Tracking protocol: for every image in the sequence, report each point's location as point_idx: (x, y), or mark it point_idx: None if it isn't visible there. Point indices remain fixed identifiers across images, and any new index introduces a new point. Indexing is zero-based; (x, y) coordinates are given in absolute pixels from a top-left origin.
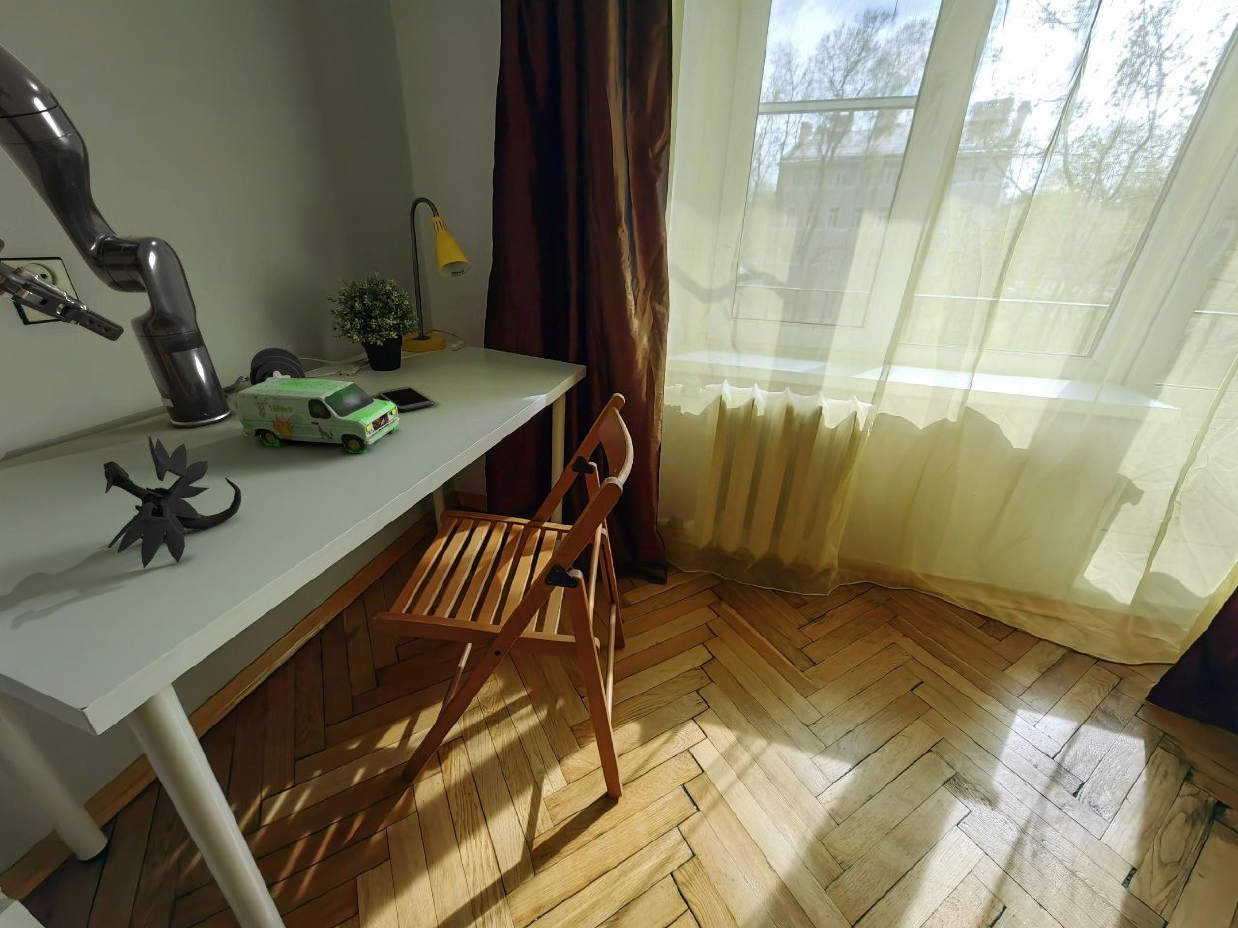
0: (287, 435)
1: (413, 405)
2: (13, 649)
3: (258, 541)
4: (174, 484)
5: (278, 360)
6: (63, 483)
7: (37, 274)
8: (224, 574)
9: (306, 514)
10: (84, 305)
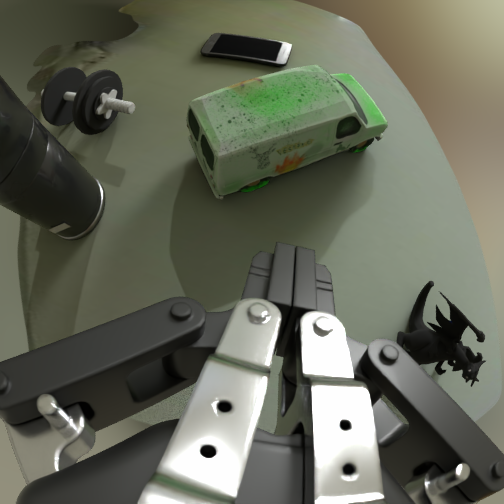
0: (290, 170)
1: (284, 55)
2: None
3: (458, 297)
4: (463, 331)
5: (95, 79)
6: None
7: (170, 494)
8: None
9: (448, 252)
10: (270, 313)
